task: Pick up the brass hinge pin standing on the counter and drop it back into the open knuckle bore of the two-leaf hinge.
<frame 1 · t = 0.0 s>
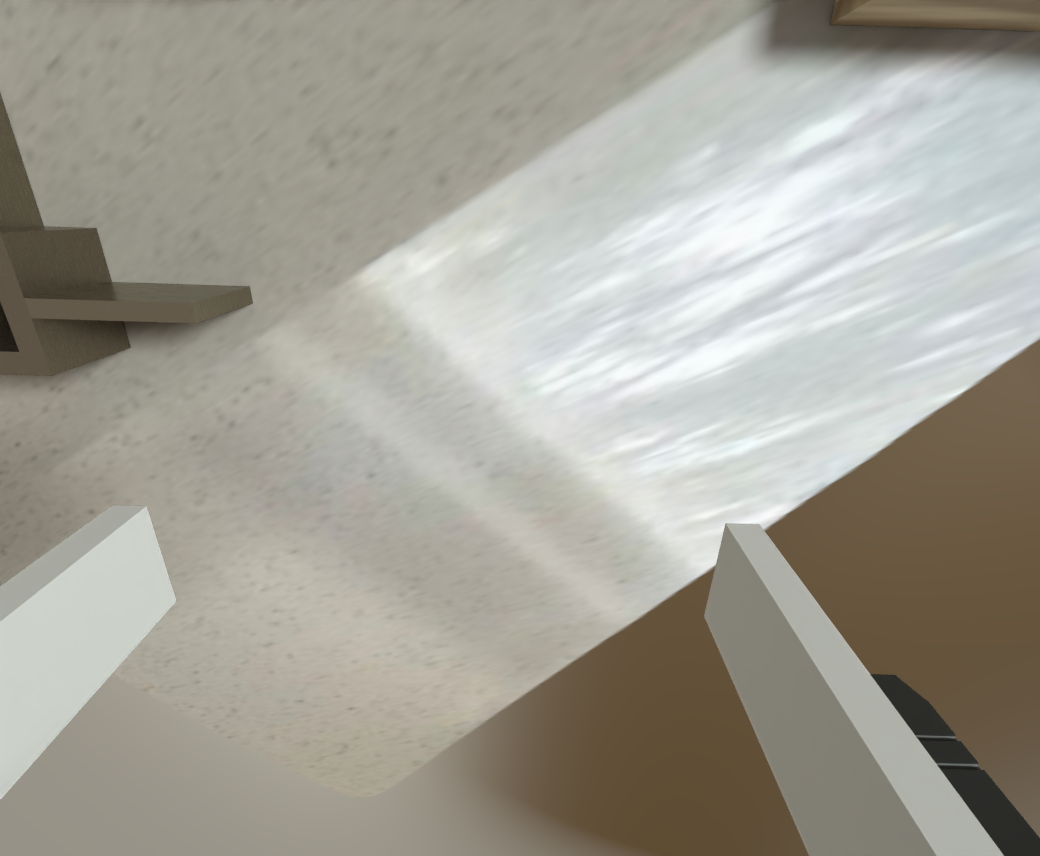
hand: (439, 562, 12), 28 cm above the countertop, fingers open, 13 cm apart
hinge: (55, 288, 37), on the countertop
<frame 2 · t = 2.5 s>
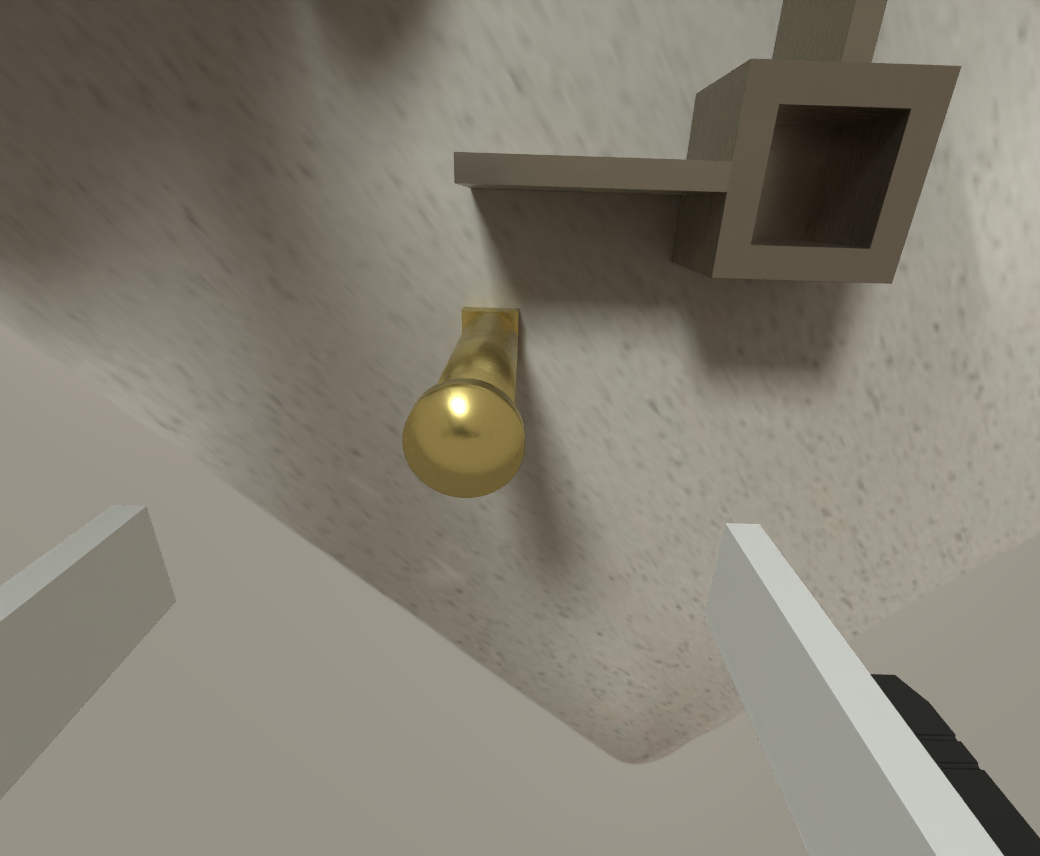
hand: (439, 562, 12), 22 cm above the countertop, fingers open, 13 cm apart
hinge: (758, 185, 28), on the countertop
hinge pin: (491, 335, 32), on the countertop
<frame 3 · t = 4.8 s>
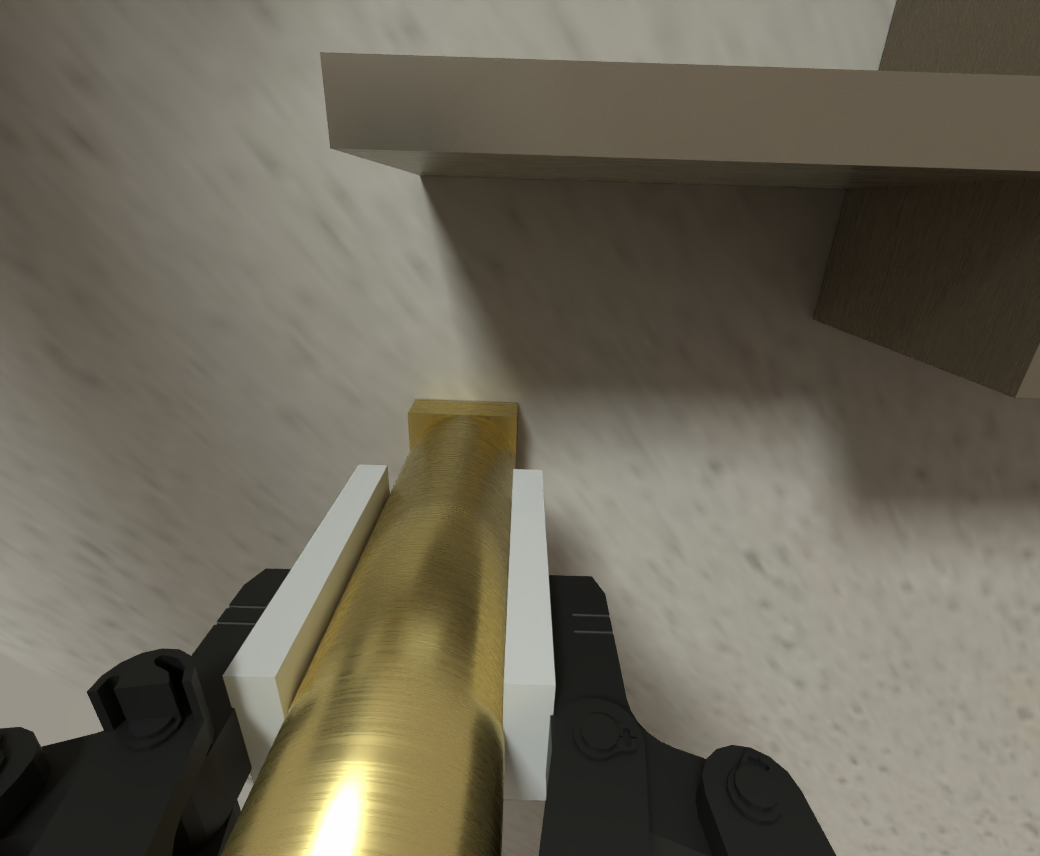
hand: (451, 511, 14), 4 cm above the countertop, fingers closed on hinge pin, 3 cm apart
hinge: (1007, 169, 14), on the countertop
hinge pin: (467, 447, 17), on the countertop, touching gripper
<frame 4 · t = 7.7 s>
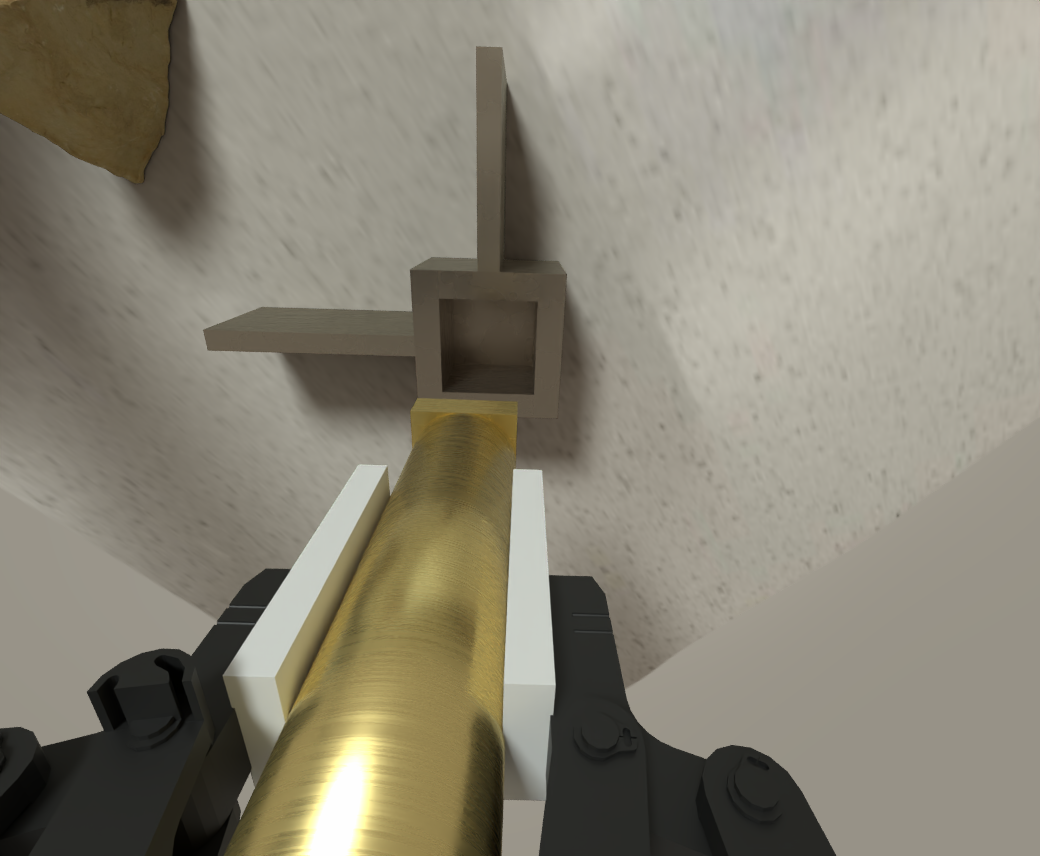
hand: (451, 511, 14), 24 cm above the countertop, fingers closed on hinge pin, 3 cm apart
hinge: (494, 322, 35), on the countertop
rock: (143, 75, 30), on the countertop
hinge pin: (468, 444, 18), point 19 cm above the countertop, touching gripper
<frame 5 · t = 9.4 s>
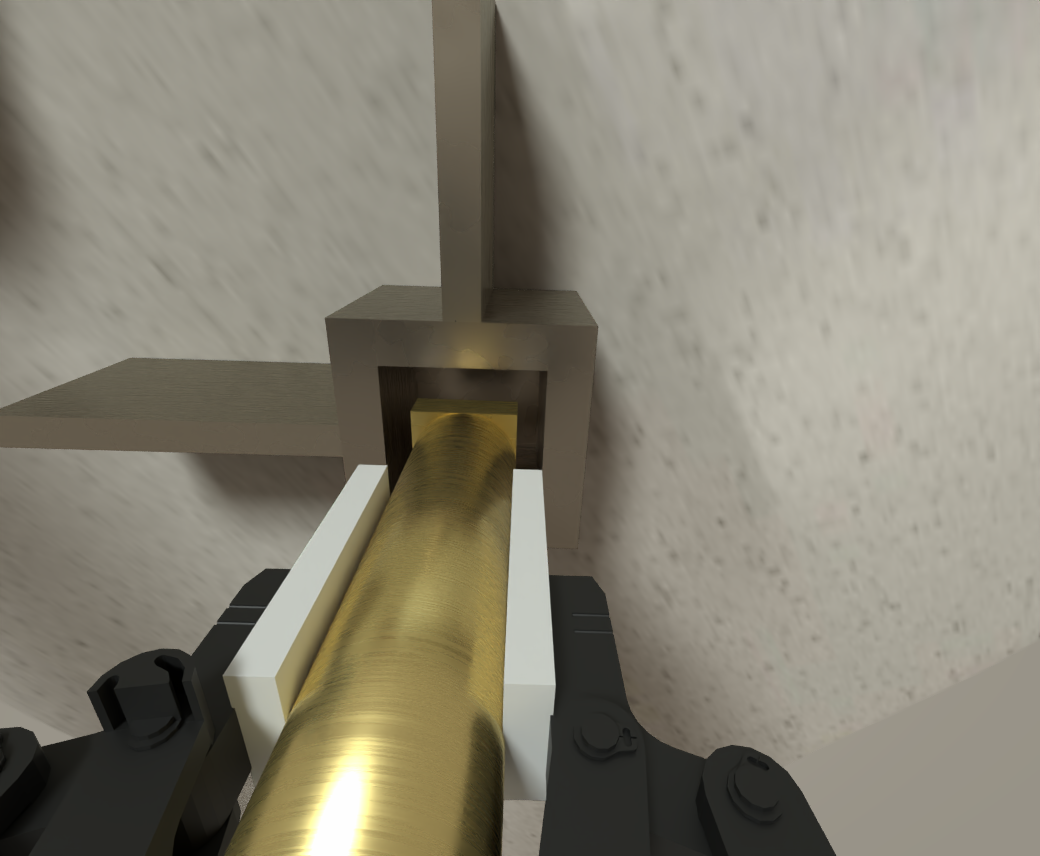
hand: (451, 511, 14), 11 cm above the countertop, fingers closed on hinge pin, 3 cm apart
hinge: (479, 380, 24), on the countertop
hinge pin: (468, 445, 18), point 7 cm above the countertop, touching gripper
when the fingers open (9 cm above the countertop, at t = 10.7 s): hinge pin drops 3 cm, resting on hinge.
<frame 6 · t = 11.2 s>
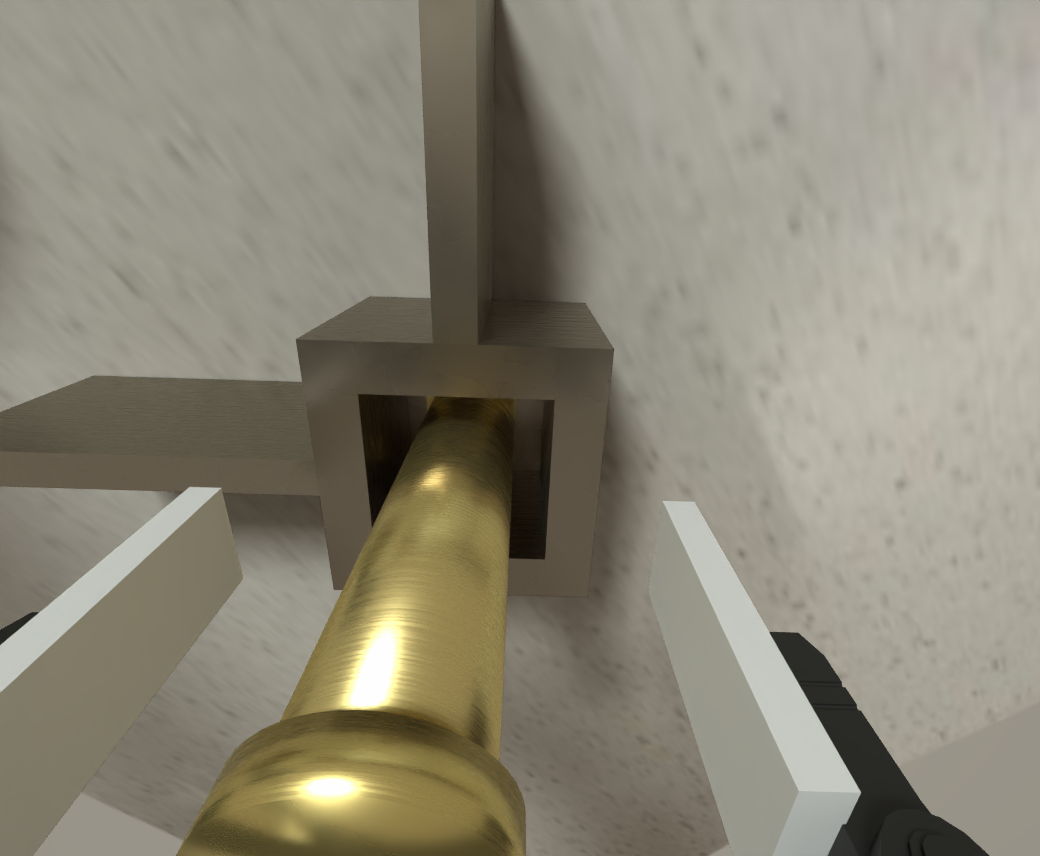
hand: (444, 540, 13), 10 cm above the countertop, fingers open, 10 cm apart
hinge: (478, 400, 22), on the countertop
hinge pin: (474, 411, 21), point 1 cm above the countertop, touching hinge
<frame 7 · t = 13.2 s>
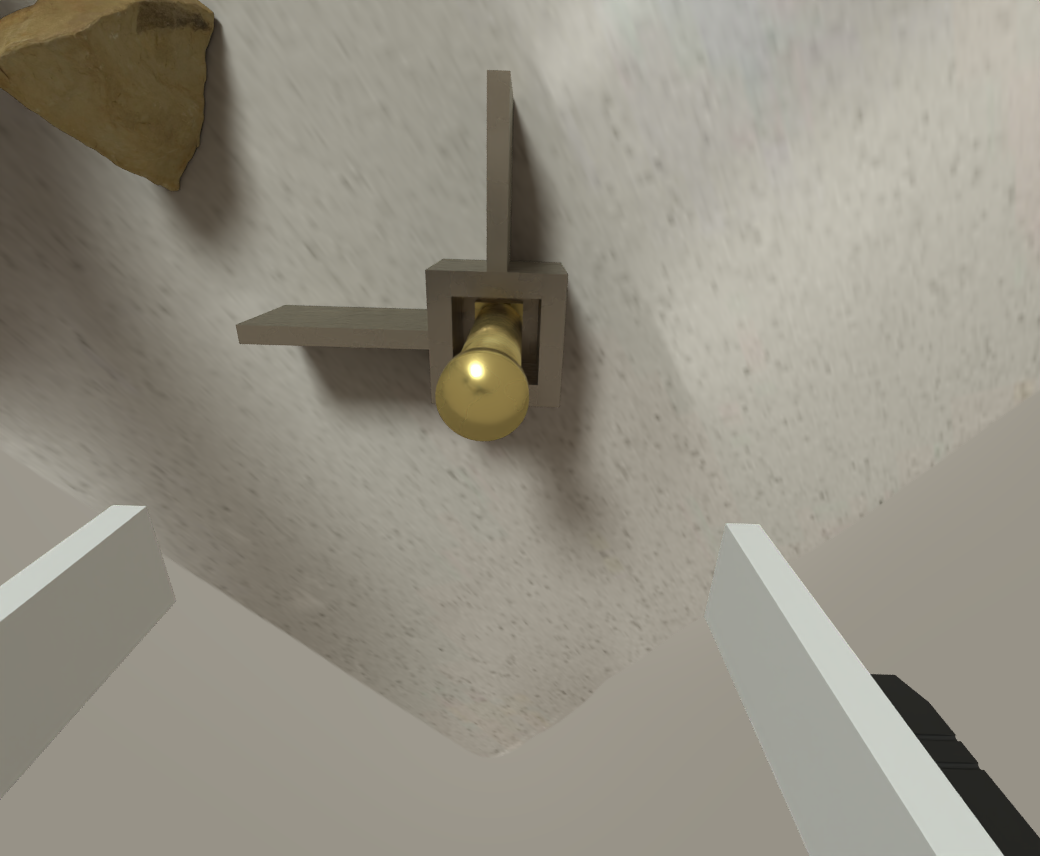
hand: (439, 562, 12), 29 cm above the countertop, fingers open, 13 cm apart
hinge: (501, 319, 38), on the countertop
rock: (181, 93, 33), on the countertop
hinge pin: (499, 323, 37), point 1 cm above the countertop, touching hinge
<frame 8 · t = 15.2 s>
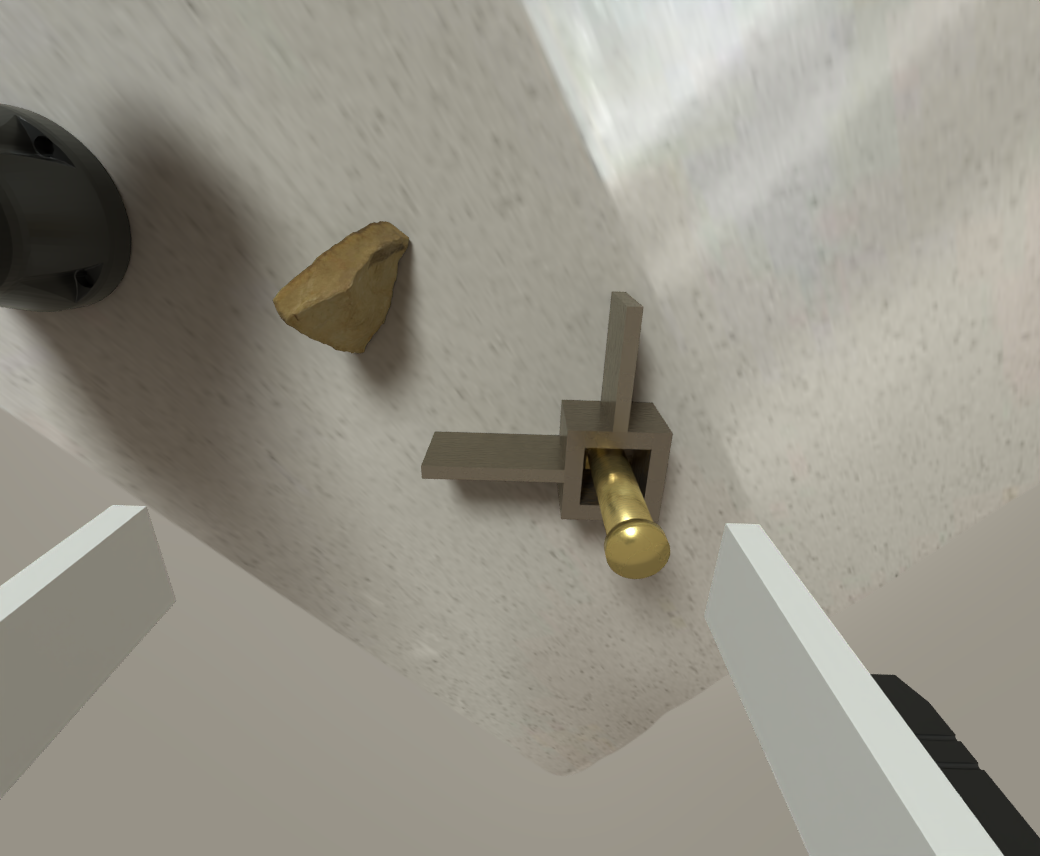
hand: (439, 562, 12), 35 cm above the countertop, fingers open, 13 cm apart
hinge: (602, 442, 49), on the countertop
rock: (374, 286, 43), on the countertop
hinge pin: (603, 447, 48), point 1 cm above the countertop, touching hinge
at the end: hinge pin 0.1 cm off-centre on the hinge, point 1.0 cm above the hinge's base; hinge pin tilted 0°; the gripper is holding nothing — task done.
